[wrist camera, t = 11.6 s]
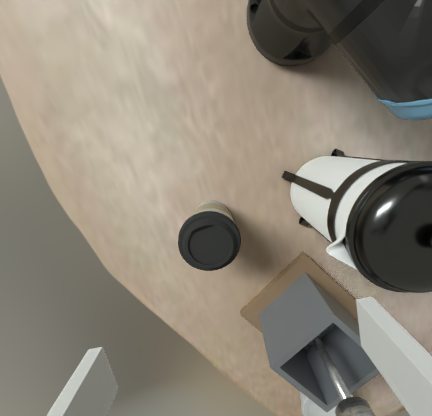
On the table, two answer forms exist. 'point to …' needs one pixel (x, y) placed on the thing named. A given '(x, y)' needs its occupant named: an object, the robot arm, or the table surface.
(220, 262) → the coffee cup
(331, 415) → the ramekin
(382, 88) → the robot arm
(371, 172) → the coffee press
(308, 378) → the square grey bin
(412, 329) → the table surface
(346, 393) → the plunger
